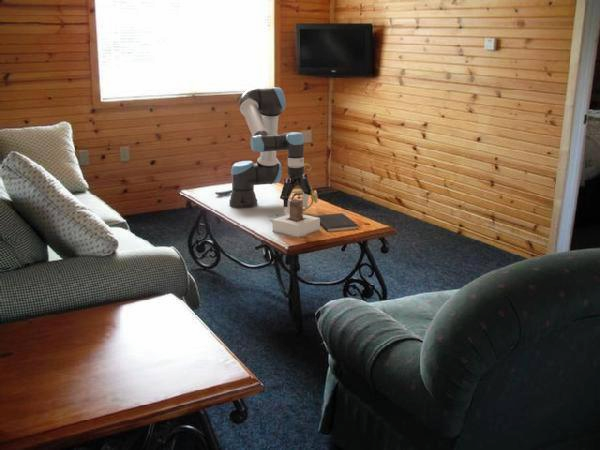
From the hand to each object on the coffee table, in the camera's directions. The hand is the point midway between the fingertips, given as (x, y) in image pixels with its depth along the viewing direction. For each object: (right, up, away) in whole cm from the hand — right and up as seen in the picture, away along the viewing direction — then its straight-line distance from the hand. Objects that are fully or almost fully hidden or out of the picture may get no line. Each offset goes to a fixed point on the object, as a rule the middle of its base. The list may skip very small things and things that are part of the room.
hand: (296, 210), depth 332 cm
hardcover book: (+19, -7, +14) cm, 25 cm away
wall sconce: (+3, +1, +39) cm, 39 cm away
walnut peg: (0, -9, +3) cm, 9 cm away
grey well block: (0, -10, +3) cm, 10 cm away
